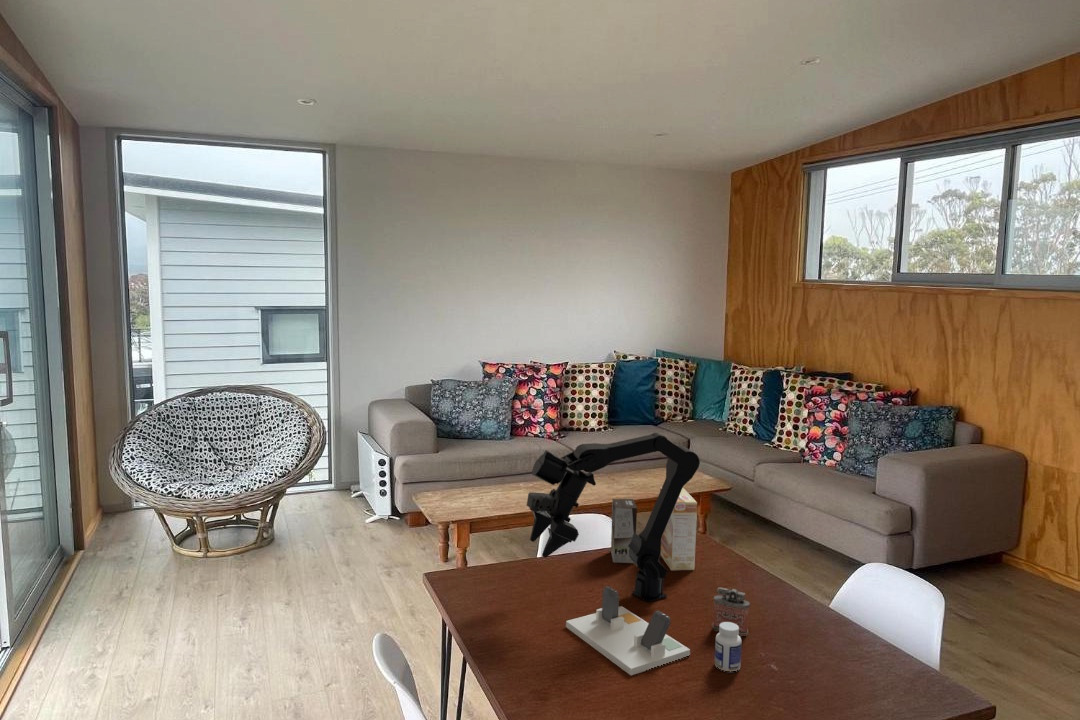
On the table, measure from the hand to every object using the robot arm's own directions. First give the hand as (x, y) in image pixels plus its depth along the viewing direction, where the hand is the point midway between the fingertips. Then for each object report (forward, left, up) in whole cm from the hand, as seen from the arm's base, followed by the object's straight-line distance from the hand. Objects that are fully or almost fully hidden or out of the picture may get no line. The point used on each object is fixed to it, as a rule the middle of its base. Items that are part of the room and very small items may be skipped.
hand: (537, 548), depth 184 cm
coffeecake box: (-50, -5, -14) cm, 52 cm away
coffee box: (-38, -14, -14) cm, 43 cm away
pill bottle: (-20, +45, -14) cm, 51 cm away
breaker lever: (-8, +20, -12) cm, 24 cm away
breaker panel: (-8, +26, -14) cm, 30 cm away
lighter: (-32, +34, -14) cm, 49 cm away
